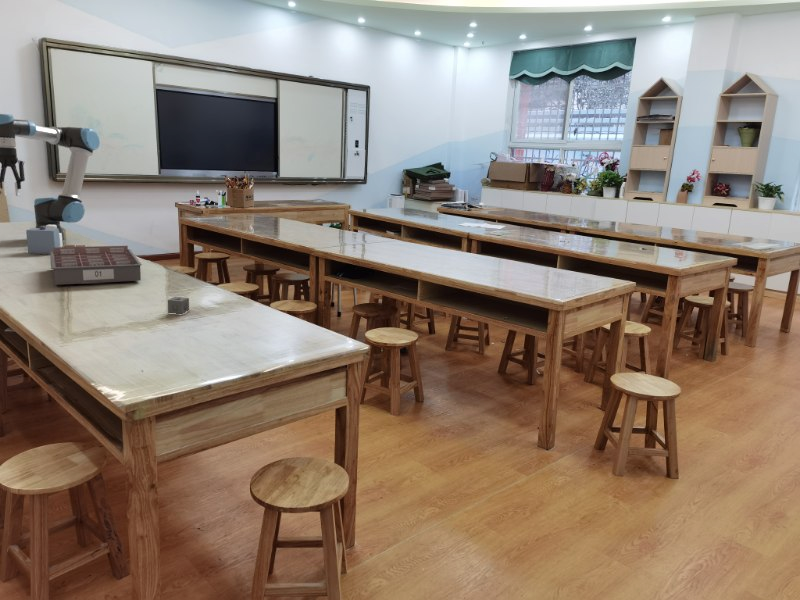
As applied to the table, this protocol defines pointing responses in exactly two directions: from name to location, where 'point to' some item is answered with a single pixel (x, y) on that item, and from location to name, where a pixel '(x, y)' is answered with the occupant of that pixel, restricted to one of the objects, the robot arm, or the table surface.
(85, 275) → the organizer tray
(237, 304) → the table surface
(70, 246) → the cube
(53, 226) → the medicine bottle
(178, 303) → the dice cube
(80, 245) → the cube
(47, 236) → the cover
